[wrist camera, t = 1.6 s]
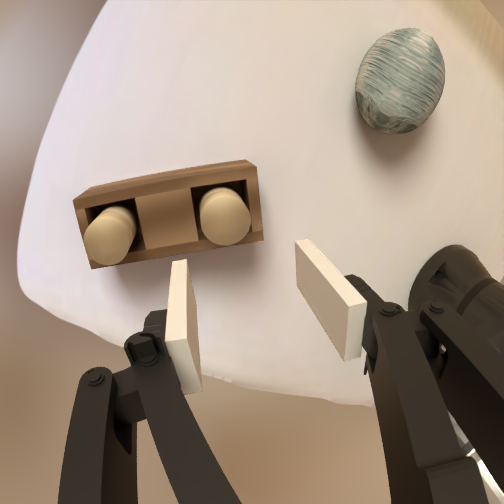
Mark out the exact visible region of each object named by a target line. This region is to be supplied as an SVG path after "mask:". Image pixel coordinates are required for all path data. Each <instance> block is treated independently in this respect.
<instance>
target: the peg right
mask: <svg viewBox="0 0 504 504" xmlns="http://www.w3.org/2000/svg"><path fill="white" fill-rule="evenodd" d="M199 210H200V221H201V228H202V231H203V233H204V235H205V236H206V237H207V238H208V239H209V240H210V241H211V242H213V243H215V244H218V245H232V244H235V243H237V242H239V241H240V240H242V239H243V238H244V237H245V236H246V234H247V233H248V231H249V228H250V225H251V216H250V213H249V210H248V208H247V207H246V205H245V204H244V202H243V201H242V199H241V198H240V196H239V195H238V193H237V192H236V191H235V190H234V189H232V188H230V187H228V186H223V185H219V186H214V187H212V188H210V189H208V190H207V191H206V192H205V193H204V194H203V196H202V197H201V200H200V204H199Z"/></svg>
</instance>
